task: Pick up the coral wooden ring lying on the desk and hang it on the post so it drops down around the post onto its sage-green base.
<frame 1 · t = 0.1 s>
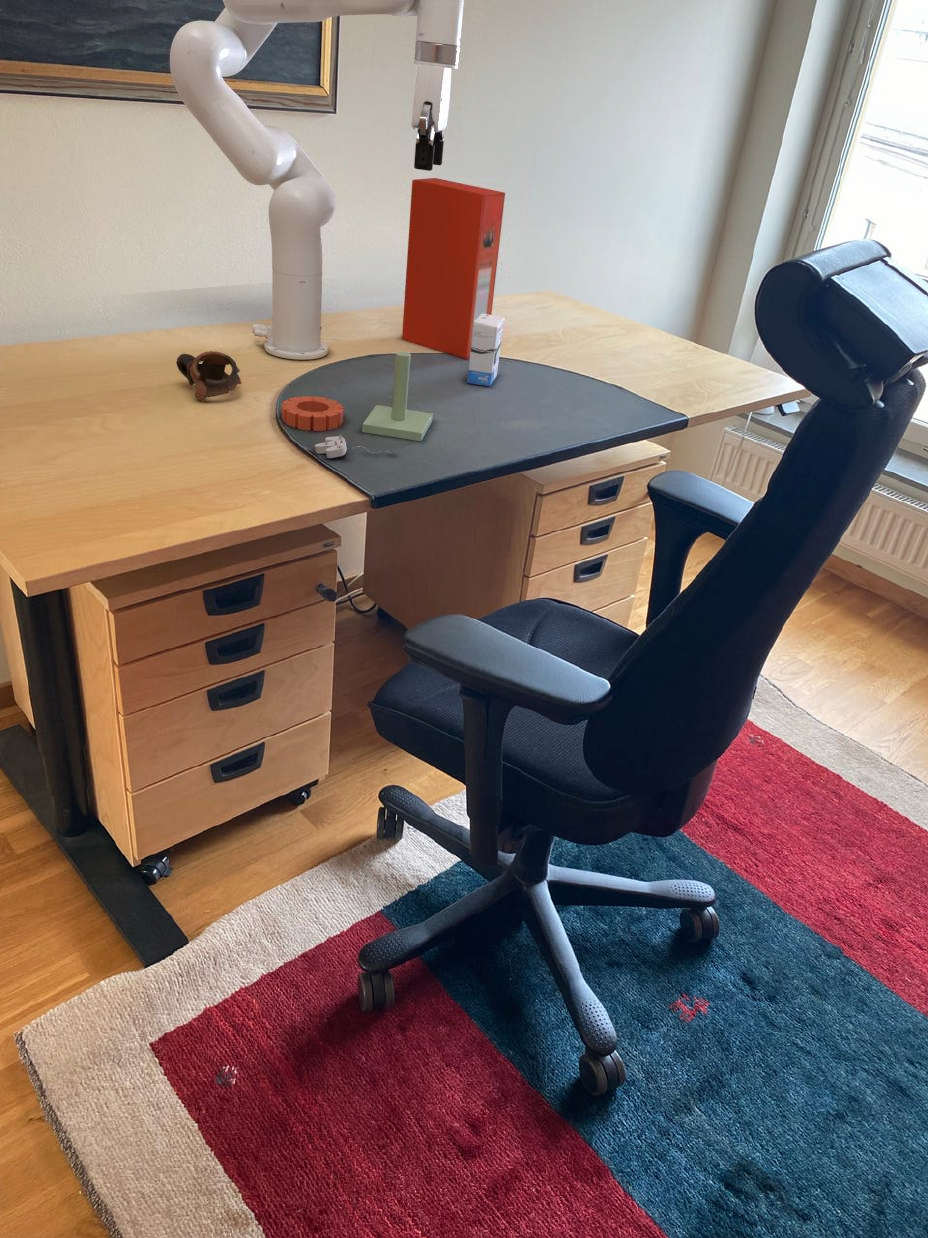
hand: (428, 166, 169), 37 cm above the table, tool pointing down, fingers open, 9 cm apart
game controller: (353, 456, 147), on the table
file binder: (443, 347, 204), on the table
ink box: (481, 380, 187), on the table
post: (397, 426, 160), on the table
pottery mug: (209, 394, 164), on the table
ring: (312, 419, 158), on the table
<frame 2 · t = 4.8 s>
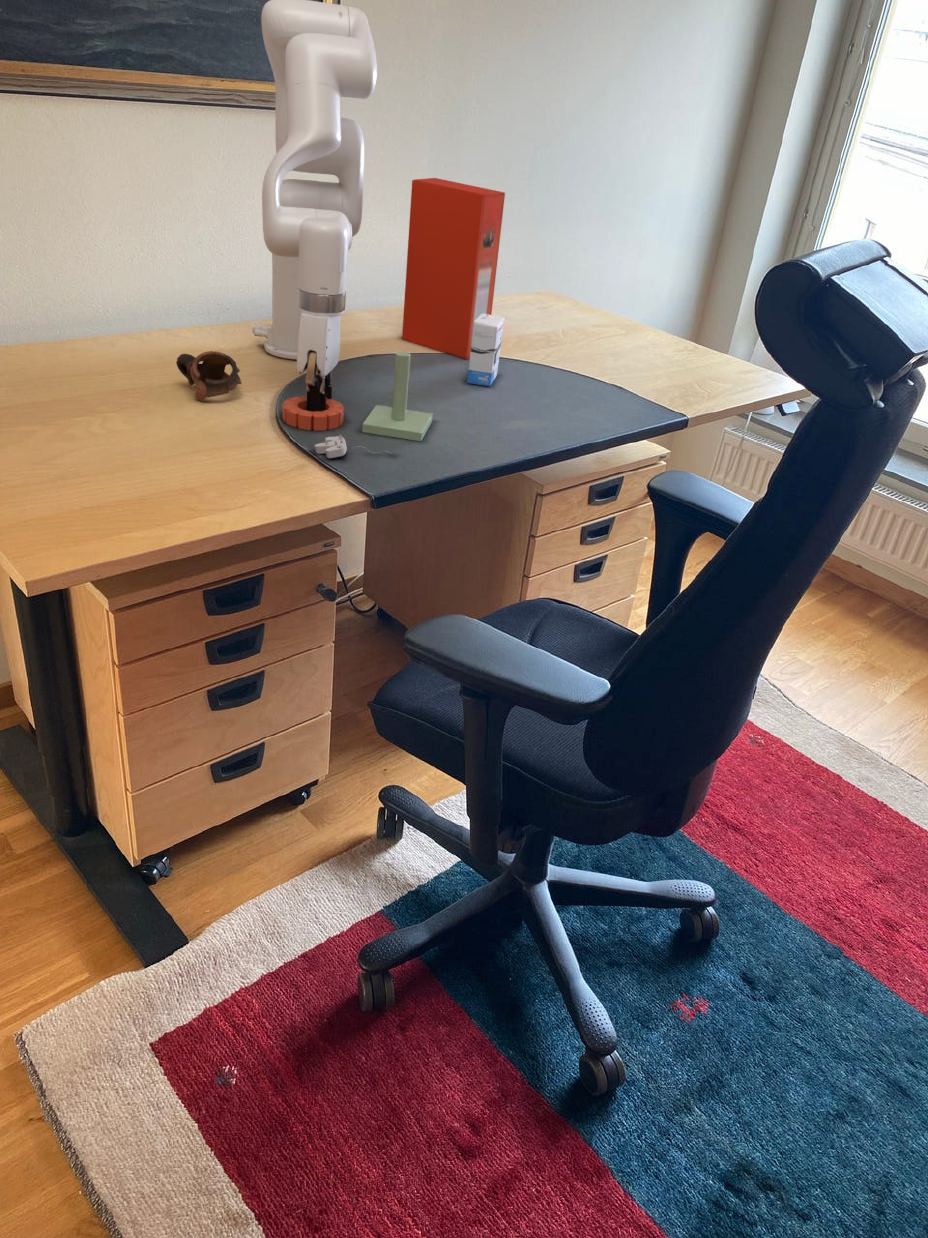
hand: (319, 410, 161), 0 cm above the table, tool pointing down, fingers closed on ring, 2 cm apart
ring: (313, 419, 158), on the table, touching gripper
everything else where it was.
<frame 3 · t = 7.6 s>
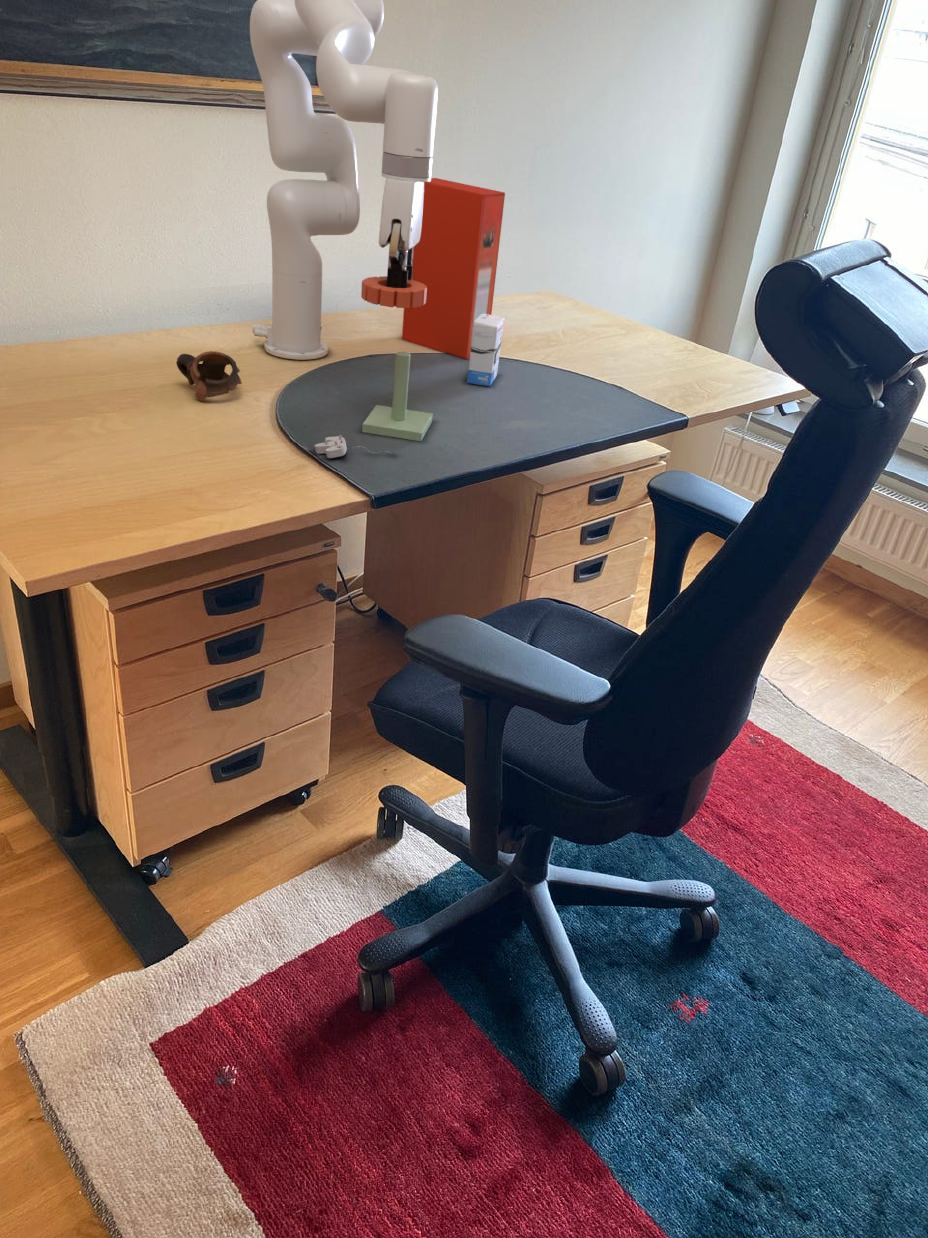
hand: (398, 291, 151), 21 cm above the table, tool pointing down, fingers closed on ring, 2 cm apart
ring: (393, 299, 149), point 21 cm above the table, touching gripper
everything else where it was.
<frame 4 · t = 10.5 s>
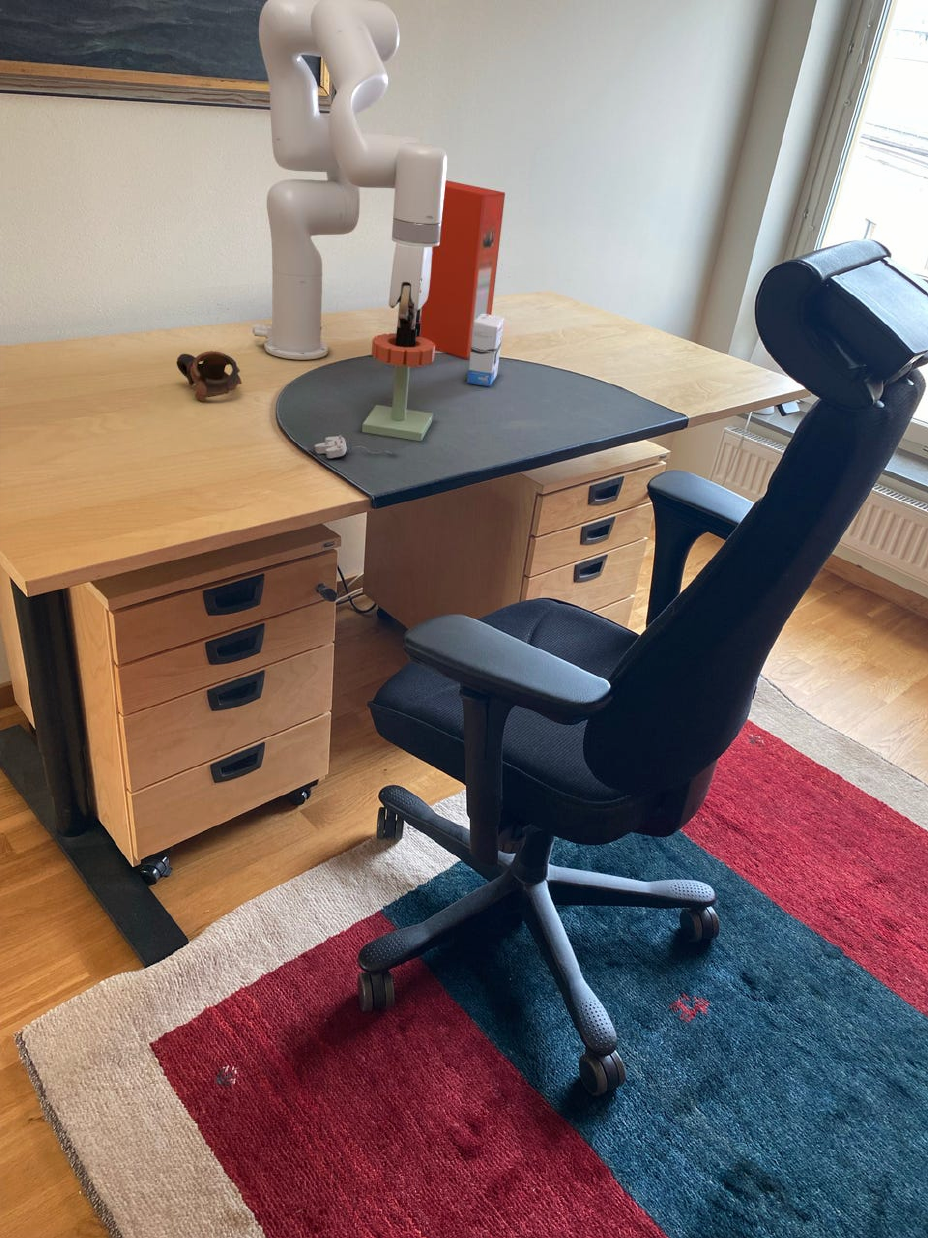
hand: (407, 348, 157), 12 cm above the table, tool pointing down, fingers closed on ring, 2 cm apart
ring: (402, 356, 154), point 12 cm above the table, touching gripper
everything else where it was.
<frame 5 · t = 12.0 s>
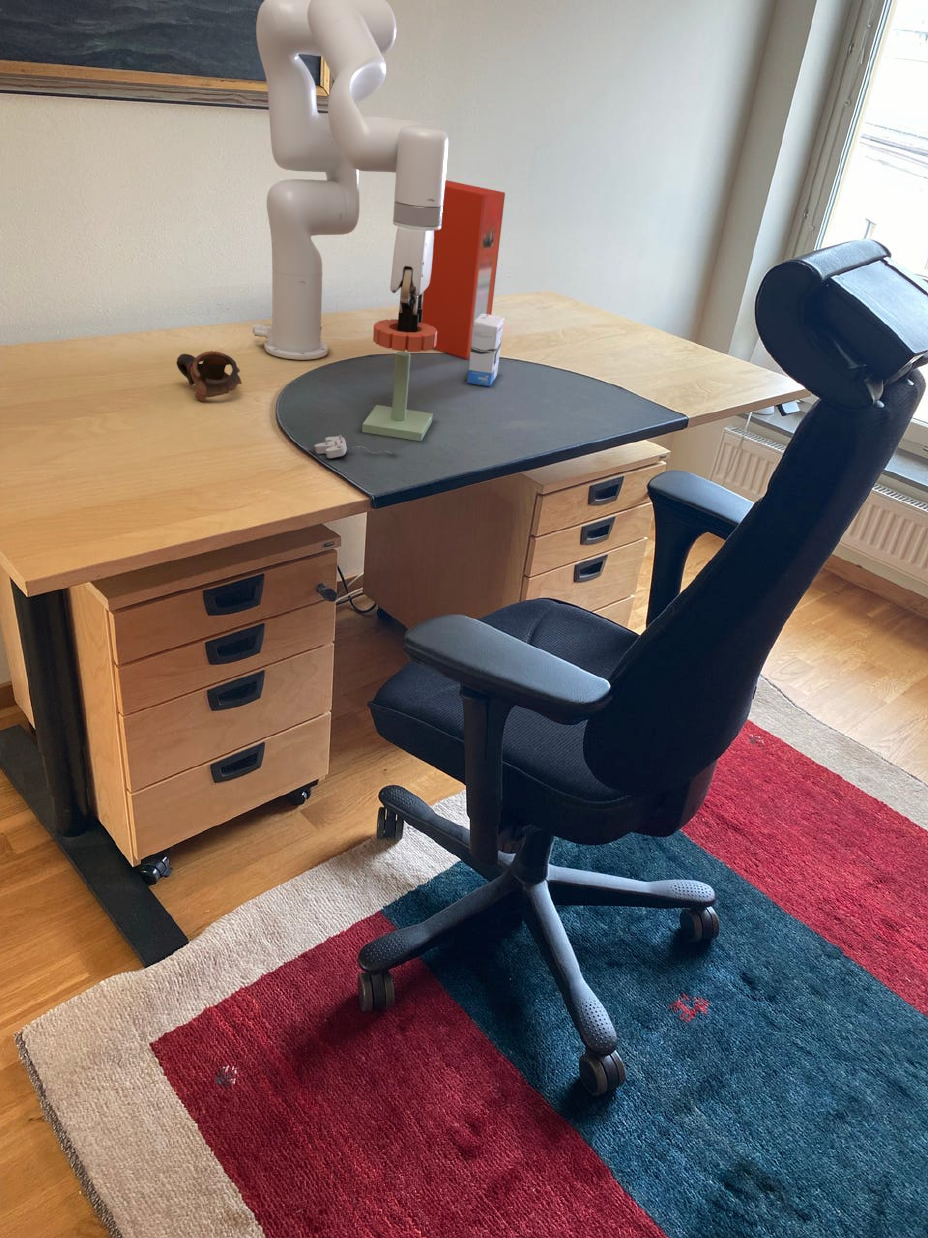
hand: (409, 334, 155), 15 cm above the table, tool pointing down, fingers closed on ring, 2 cm apart
ring: (404, 342, 152), point 14 cm above the table, touching gripper
everything else where it was.
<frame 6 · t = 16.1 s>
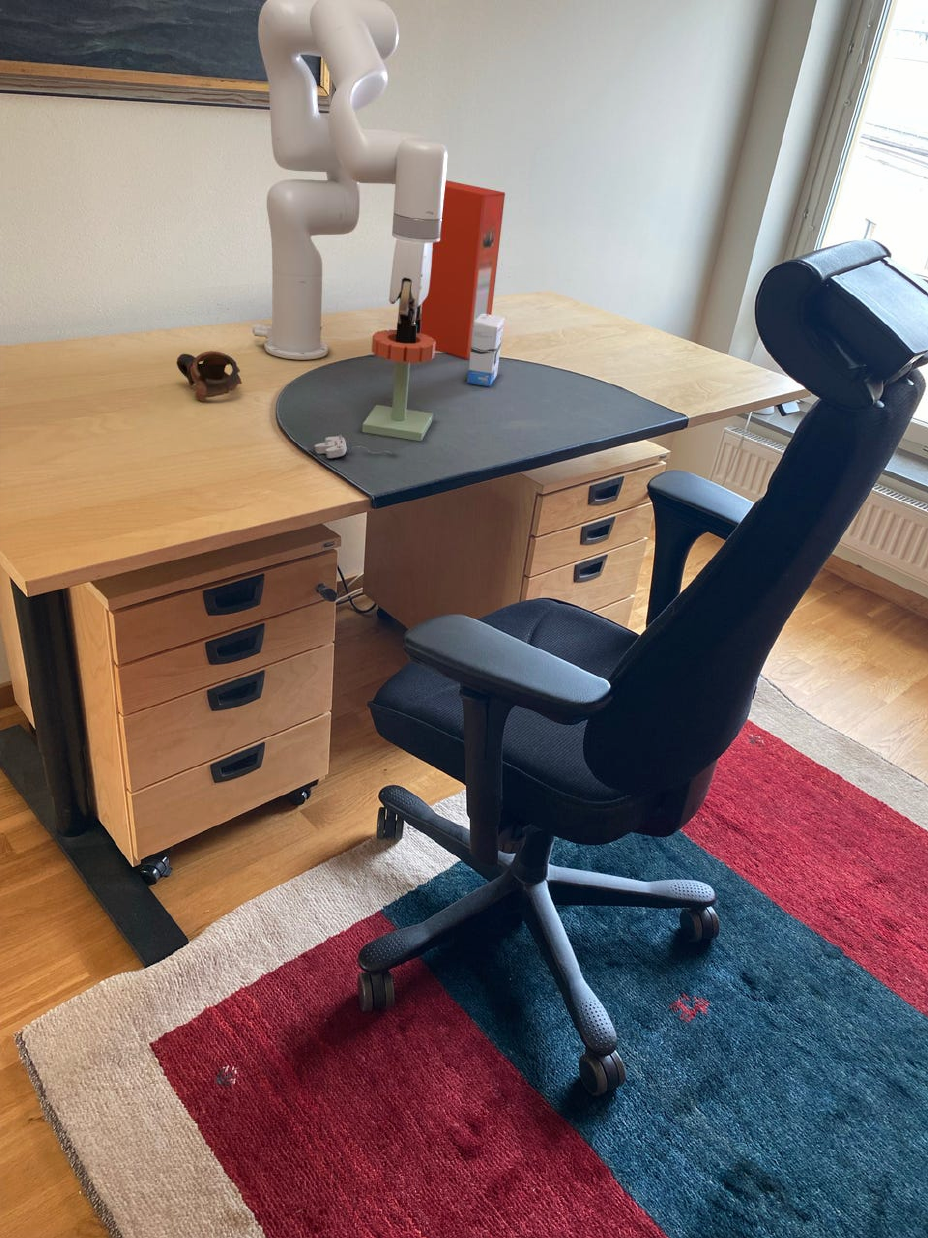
hand: (407, 344, 156), 13 cm above the table, tool pointing down, fingers closed on ring, 2 cm apart
ring: (403, 353, 153), point 12 cm above the table, touching gripper
everything else where it was.
when the fingers open (15 cm above the table, at t = 19.5 s): ring drops 13 cm, resting on post.
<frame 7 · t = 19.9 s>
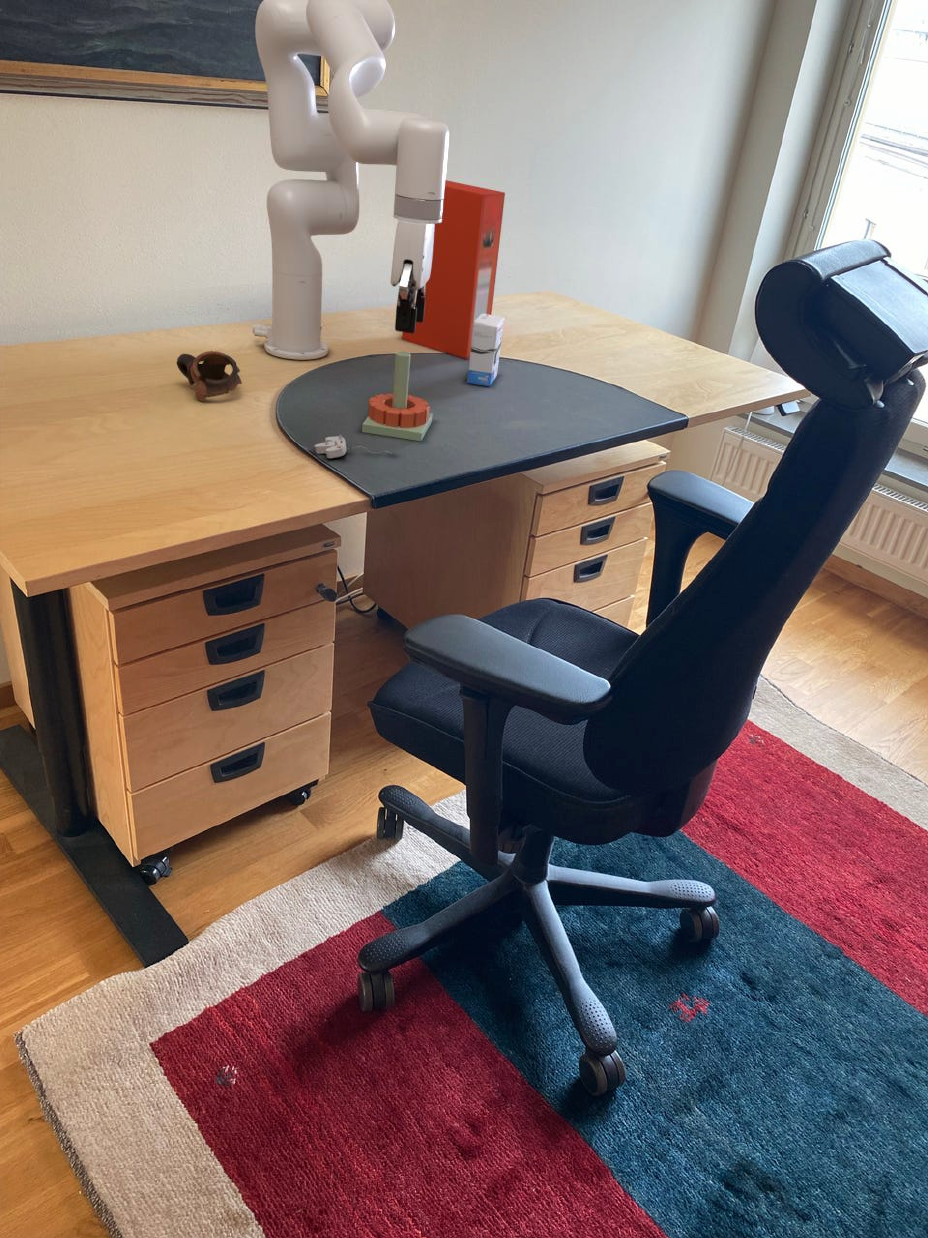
hand: (409, 325, 154), 16 cm above the table, tool pointing down, fingers open, 6 cm apart
ring: (398, 417, 159), point 1 cm above the table, touching post
everything else where it was.
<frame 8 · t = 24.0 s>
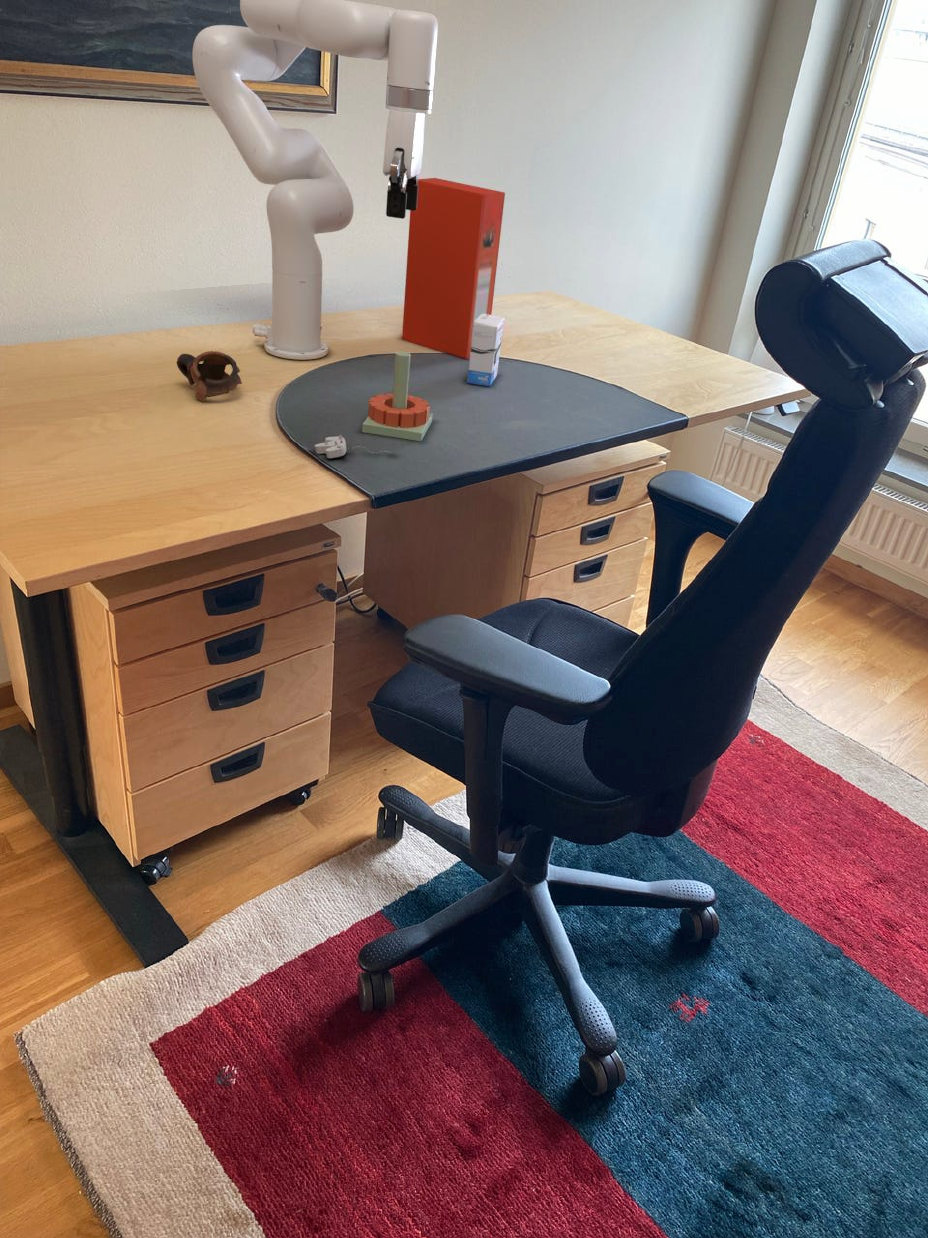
hand: (401, 213, 162), 30 cm above the table, tool pointing down, fingers open, 9 cm apart
nothing on the table moved.
at the end: ring 0.6 cm off-centre on the post, point 1.5 cm above the post's base; the gripper is holding nothing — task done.
